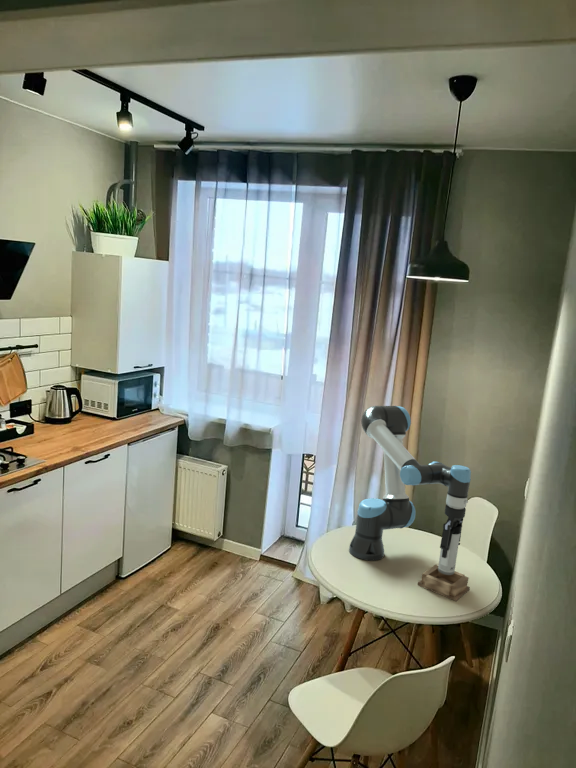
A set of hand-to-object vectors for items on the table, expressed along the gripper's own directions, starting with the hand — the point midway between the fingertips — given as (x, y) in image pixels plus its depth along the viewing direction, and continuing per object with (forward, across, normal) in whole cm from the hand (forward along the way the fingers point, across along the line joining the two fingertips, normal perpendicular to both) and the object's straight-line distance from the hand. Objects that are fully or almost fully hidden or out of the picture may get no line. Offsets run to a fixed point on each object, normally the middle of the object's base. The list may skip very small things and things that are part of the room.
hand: (447, 562), depth 223 cm
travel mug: (+4, 0, 0) cm, 4 cm away
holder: (+11, 0, 0) cm, 11 cm away
